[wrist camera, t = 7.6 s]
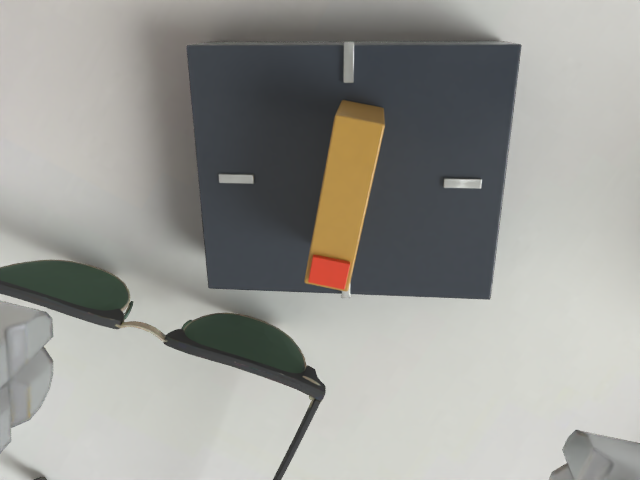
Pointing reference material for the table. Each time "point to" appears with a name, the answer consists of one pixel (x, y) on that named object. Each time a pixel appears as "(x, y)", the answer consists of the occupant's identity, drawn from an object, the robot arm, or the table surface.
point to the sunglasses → (194, 338)
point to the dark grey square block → (391, 169)
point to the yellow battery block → (344, 194)
